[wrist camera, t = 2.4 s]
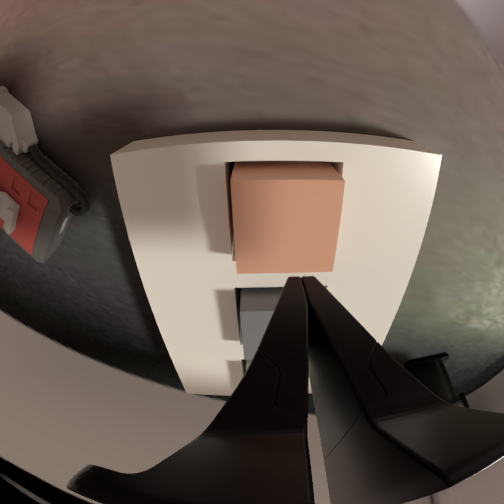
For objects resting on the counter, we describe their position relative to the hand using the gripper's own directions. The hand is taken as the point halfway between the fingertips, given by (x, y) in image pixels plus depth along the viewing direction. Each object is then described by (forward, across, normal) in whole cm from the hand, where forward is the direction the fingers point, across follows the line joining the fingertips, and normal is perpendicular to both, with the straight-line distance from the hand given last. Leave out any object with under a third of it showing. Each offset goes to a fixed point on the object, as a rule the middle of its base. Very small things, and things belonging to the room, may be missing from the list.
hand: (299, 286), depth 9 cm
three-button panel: (+8, 0, +7) cm, 11 cm away
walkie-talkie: (+8, +20, -6) cm, 23 cm away
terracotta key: (+8, 0, 0) cm, 8 cm away
